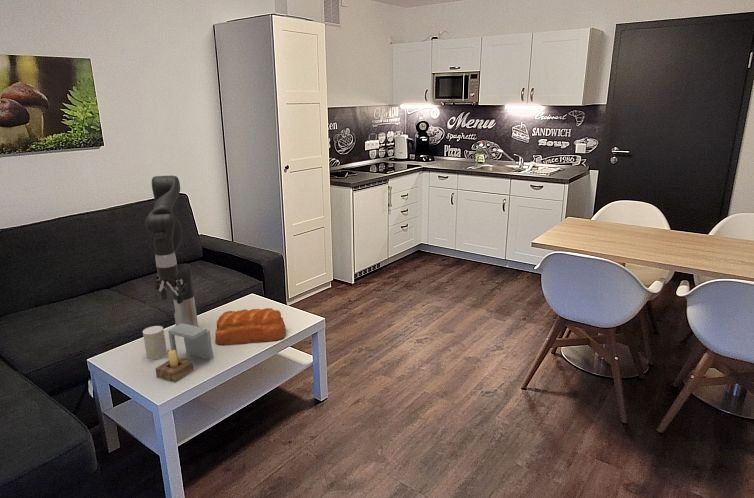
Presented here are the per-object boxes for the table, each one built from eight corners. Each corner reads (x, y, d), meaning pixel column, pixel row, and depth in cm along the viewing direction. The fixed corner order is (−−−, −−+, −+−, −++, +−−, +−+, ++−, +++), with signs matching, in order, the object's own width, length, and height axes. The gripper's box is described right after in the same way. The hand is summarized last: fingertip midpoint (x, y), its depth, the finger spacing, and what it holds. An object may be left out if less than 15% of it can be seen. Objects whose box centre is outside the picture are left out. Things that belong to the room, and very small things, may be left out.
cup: (147, 361, 214) (143, 335, 210) (146, 353, 221) (142, 328, 217) (168, 356, 217) (164, 331, 214) (166, 349, 224) (162, 324, 221)
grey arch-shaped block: (172, 361, 213) (168, 330, 209) (188, 352, 221) (184, 321, 217) (197, 368, 207) (193, 336, 203) (213, 358, 215) (209, 327, 211)
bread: (219, 331, 240) (216, 306, 237) (286, 326, 244) (284, 301, 240) (213, 347, 226) (210, 320, 222) (284, 341, 229) (282, 314, 225)
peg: (169, 374, 203) (166, 352, 200) (175, 371, 205) (172, 349, 202) (175, 376, 201) (171, 353, 199) (181, 372, 204) (177, 350, 201)
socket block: (156, 377, 201) (155, 368, 200) (176, 365, 210) (174, 356, 209) (175, 382, 197) (173, 373, 196) (194, 370, 206) (192, 361, 204)
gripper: (145, 264, 198) (152, 301, 203) (172, 269, 192) (178, 308, 197) (161, 258, 205) (167, 295, 210) (187, 263, 199) (192, 300, 204)
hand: (172, 301), depth 203 cm, fingers open, 8 cm apart
